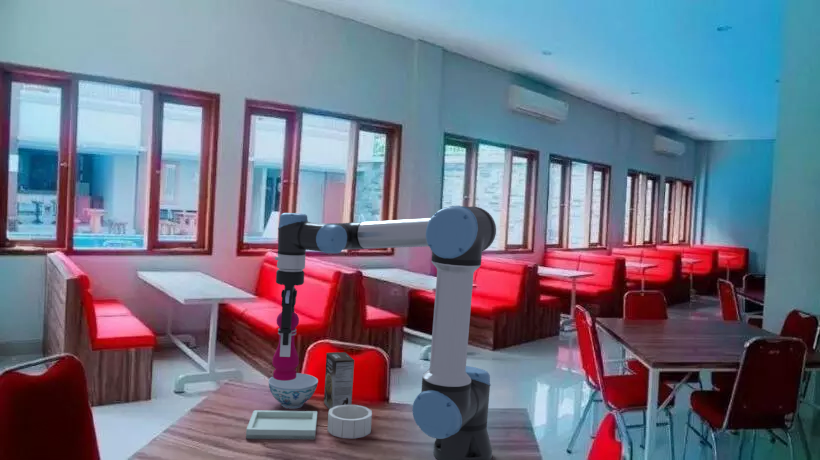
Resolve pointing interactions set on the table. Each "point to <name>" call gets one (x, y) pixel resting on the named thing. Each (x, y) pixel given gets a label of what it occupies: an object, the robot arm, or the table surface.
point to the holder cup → (349, 421)
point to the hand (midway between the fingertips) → (286, 352)
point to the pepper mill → (286, 364)
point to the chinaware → (293, 390)
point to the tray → (282, 425)
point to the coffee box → (338, 379)
